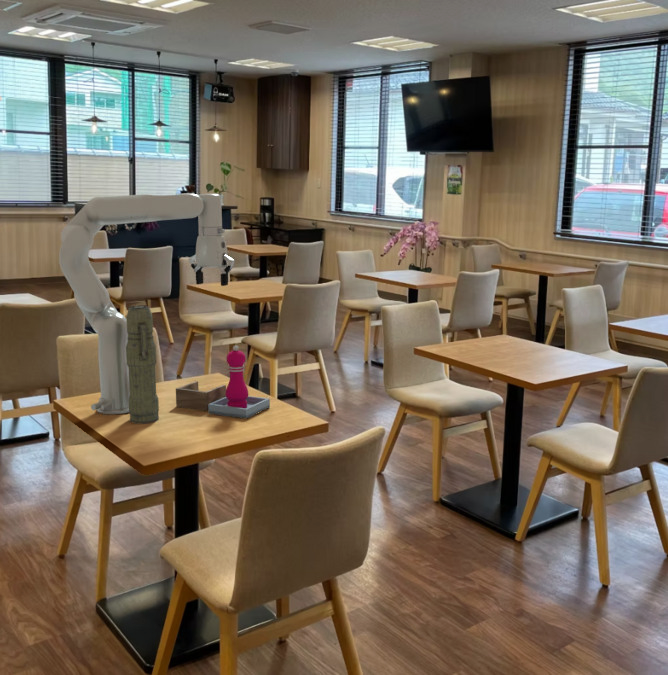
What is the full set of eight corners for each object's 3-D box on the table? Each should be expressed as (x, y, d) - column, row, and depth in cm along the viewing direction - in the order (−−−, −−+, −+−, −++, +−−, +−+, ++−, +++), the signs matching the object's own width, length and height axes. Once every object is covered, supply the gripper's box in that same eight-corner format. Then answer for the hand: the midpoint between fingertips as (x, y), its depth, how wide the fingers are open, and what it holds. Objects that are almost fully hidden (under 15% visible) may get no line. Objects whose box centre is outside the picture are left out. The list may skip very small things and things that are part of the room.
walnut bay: (207, 411, 255) (206, 392, 254) (176, 406, 261) (175, 388, 260) (226, 402, 265) (225, 385, 264) (196, 398, 270) (195, 381, 269)
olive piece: (152, 412, 254) (147, 302, 247) (164, 422, 244) (159, 307, 237) (124, 416, 249) (118, 305, 243) (135, 426, 239) (130, 310, 233)
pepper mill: (221, 409, 254) (219, 347, 250) (233, 403, 261) (231, 342, 257) (241, 411, 251) (240, 348, 248) (252, 405, 258) (251, 344, 254)
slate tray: (246, 418, 247) (246, 409, 246) (208, 413, 253) (208, 404, 252) (269, 407, 259) (269, 398, 259) (233, 402, 265) (232, 393, 265)
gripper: (239, 232, 261) (240, 284, 264) (195, 231, 268) (197, 282, 272) (226, 233, 254) (227, 287, 257) (181, 232, 262) (183, 284, 265)
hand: (212, 284), depth 264 cm, fingers open, 9 cm apart
